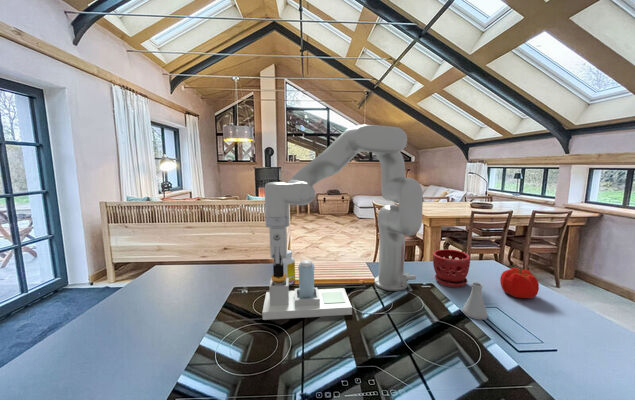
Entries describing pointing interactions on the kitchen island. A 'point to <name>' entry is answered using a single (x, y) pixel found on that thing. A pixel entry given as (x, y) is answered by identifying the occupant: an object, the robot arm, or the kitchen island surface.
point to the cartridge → (306, 279)
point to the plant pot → (451, 267)
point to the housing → (304, 303)
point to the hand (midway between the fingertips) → (278, 275)
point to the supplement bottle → (289, 267)
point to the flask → (475, 303)
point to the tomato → (519, 283)
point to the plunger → (279, 280)
